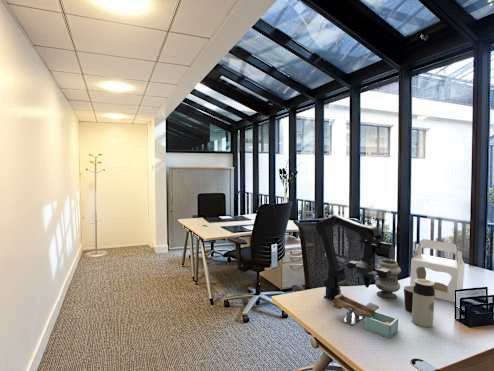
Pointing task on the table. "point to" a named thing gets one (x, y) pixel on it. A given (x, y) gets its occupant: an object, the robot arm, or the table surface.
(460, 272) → the gable box
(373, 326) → the bin
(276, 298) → the table surface
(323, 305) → the table surface
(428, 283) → the travel mug
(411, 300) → the coffee mug
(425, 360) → the table surface
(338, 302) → the lever
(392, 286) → the apothecary jar
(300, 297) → the table surface
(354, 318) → the fulcrum
